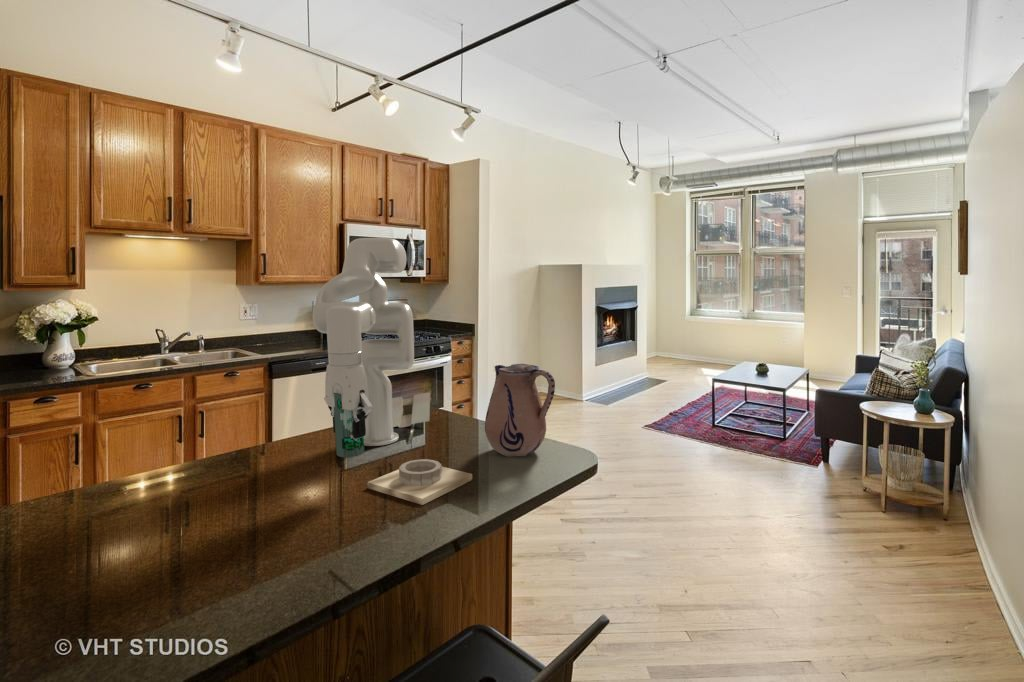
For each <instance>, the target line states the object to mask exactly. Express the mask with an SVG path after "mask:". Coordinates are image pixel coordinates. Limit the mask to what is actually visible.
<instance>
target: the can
mask: <svg viewBox="0 0 1024 682" xmlns="http://www.w3.org/2000/svg"><path fill="white" fill-rule="evenodd" d="M333 396H334V401H335V407H334V416H333V417H334V420H335V434H334V435H335V437H334V438H335V451H336V456H338V457H340V458H354V457H359V456H360V455H363V454H364V453H365V445H364V436H363V437H360V438H357V439H355V438H354V437H353V422H354V421H355V420H354V417H353V414H352V411H347V410H343V409H342V404H341V394H338V393H334V395H333ZM358 407H360V404H358ZM357 413H358V415H359V413H360V410H357Z"/></svg>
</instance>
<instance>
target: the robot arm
mask: <svg viewBox="0 0 1024 682" xmlns="http://www.w3.org/2000/svg"><path fill="white" fill-rule="evenodd" d="M406 265H407V252H406V250H405V247H404V246H403V245H402V243H400V241H398V240H397V239H395V238H391V237H359V238H356V239H354V240H352V241H351V242H350V243H349V244H348V245H347V248H346V251H345V257H344V261H343V266H342V271H341V273H339V274H337V275H335V276H334V277H332V278H331V279H330V280H328V281H327V282H325V283H324V285H323V286H322V287H321V288H320V289H319V290H318V292H317V295H316V297H315V298H316V299H315V302H314V305H313V311H312V324H313V326H314V328H315V330H317V331H318V332H319V333H321V334H326V339H327V342H326V343H327V356H328V357H327V358H328V364H327V365H326V370H325V383H324V384H325V385H324V390H325V392H324V393H325V394H324V395H325V396H324V401H325V403H326V405H327V408H328V410H329V411H330V416H331V417H332V427H333V434H334V433H335V420H334V407H335V401H334V396H333V395H334V393H338V394H341V404H342V409H343V410H347V411H352V414H353V417H354V420H355V421H354V422H353V437H354V438H355V439H357V438H360V437H363V436H364V447H378V446H386V445H390V444H394V443H396V442H397V441H398V440H399V437H400V436H399V433H397V432H394V427H393V409H392V398H393V385H392V382H391V380H390V378H389V377H388V375H387V374H386V373H385V372H384V371H393V370H395V371H398V370H404V371H405V370H409V369H411V368H412V367H413V366H414V362H415V341H414V340H415V338H414V337H415V336H414V335H415V334H414V333H415V332H414V331H415V330H414V316H413V315H414V314H413V310H412V308H411V307H410V305H409V304H407V303H403V302H389V300H388V286H387V284H386V282H385V281H384V280H383V279H382V277H381V276H380V275H379V274H399V273H402V272H403V271H404V270H405V269H406ZM355 297H358V300H359V301H346V300H349V299H353V298H355ZM364 333H365V334H367V335H397V336H398V338H371V339H370V338H368V339H363V340H362V334H364ZM358 404H360V407H358ZM357 410H360V413H359V415H358V413H357Z"/></svg>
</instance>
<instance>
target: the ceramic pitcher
mask: <svg viewBox="0 0 1024 682" xmlns="http://www.w3.org/2000/svg"><path fill="white" fill-rule="evenodd" d="M494 371H495V379H494V386H493V388H492V391H491V395H490V399H489V402H488V406H487V409H486V410H487V411H486V415H485V421H484V432H485V436H486V439H487V441H488V443H489V445H490V446H491V447H492V448H493V450H494V451H496V452H497V453H499V454H500V455H502V456H505V457H526V456H527V455H531V454H532V453H535V451H536V450H538V448H539V447H540V446H541V445H542V444H543V441H544V439H545V437H546V434H547V432H546V431H547V421H546V420H547V419H546V416H547V413H548V410H549V409H550V406H551V405H552V401H553V399H554V396H555V390H556V387H555V386H556V382H555V379H554V377H553V376H552V374H551V373H550V372H549V371H547V370H544V369H543V370H542V369H540V367H539V366H538V365H534V364H527V363H516V364H515V363H513V364H511V365H509V366H506V365H502V364H497V365H495V366H494ZM540 376H543V377H544V378H545V379H546V380H547V383H548V388H547V394H546V398H545V399H544V402H542V400H541V396H540V394H539V391H538V389H537V388H538V387H537V384H536V379H537V378H538V377H540Z"/></svg>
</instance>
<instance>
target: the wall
mask: <svg viewBox="0 0 1024 682" xmlns="http://www.w3.org/2000/svg"><path fill="white" fill-rule="evenodd" d="M430 405H431V392H423V393H418V394H413V397H409V398H403V397H402V396H397V397H392V409H393V428H395V427H396V428H397V427H398V428H407V427H411V426H412V425H415V424H420V423H426V422H430V413H431V410H430V409H431V406H430Z"/></svg>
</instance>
